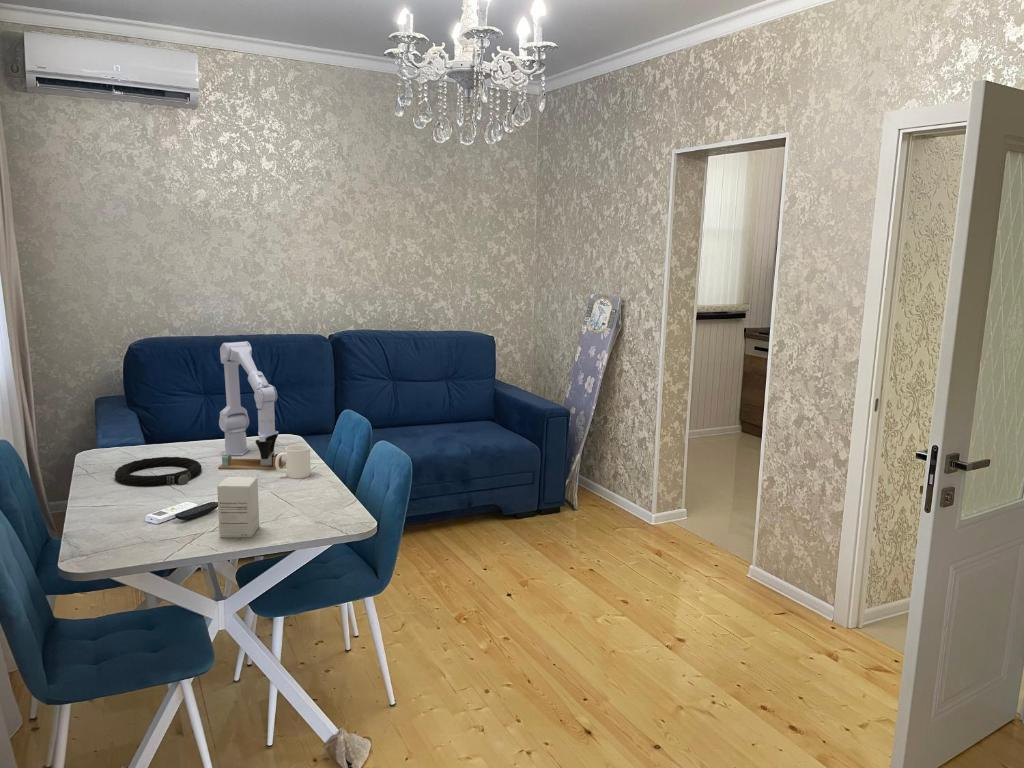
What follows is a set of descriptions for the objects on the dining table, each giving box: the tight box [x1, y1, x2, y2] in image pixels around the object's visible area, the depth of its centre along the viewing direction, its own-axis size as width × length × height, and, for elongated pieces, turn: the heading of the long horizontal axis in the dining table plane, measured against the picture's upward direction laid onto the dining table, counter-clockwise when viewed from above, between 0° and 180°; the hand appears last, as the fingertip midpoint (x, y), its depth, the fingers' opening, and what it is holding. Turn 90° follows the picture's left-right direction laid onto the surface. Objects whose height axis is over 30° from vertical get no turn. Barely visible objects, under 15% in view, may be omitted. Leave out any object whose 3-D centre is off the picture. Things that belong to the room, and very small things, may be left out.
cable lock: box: [114, 456, 203, 487], centre depth 261 cm, size 28×4×30 cm
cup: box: [275, 444, 311, 480], centre depth 264 cm, size 8×12×10 cm
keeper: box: [259, 449, 275, 466], centre depth 275 cm, size 4×4×5 cm
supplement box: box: [216, 476, 260, 538], centre depth 210 cm, size 9×9×15 cm
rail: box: [217, 453, 286, 471], centre depth 275 cm, size 8×22×4 cm, turn 95°
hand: (267, 456), depth 275 cm, fingers open, 7 cm apart
